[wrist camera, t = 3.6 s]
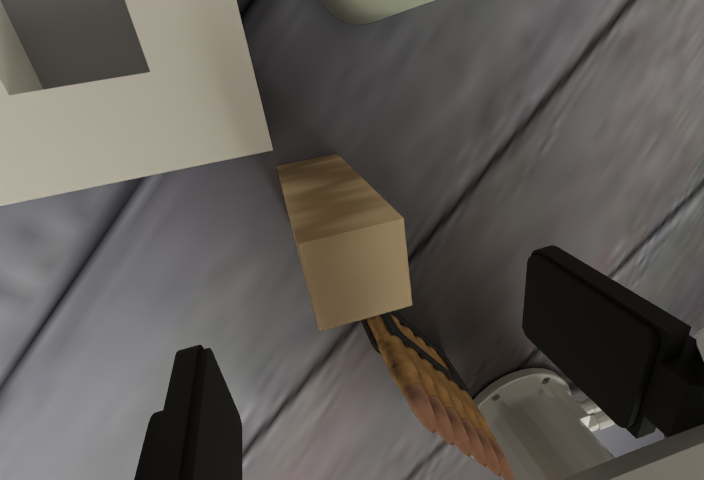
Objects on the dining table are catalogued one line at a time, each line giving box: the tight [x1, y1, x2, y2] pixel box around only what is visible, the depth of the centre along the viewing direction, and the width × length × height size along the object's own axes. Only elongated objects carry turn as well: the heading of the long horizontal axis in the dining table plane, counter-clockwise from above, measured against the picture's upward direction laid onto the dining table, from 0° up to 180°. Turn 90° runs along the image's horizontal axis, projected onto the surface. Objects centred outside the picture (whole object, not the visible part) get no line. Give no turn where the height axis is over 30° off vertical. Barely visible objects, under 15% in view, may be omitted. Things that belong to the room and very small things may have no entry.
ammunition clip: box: [361, 311, 514, 480], centre depth 27 cm, size 11×2×12 cm, turn 42°
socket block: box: [0, 0, 273, 206], centre depth 17 cm, size 14×14×5 cm
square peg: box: [276, 153, 412, 332], centre depth 20 cm, size 4×4×12 cm
